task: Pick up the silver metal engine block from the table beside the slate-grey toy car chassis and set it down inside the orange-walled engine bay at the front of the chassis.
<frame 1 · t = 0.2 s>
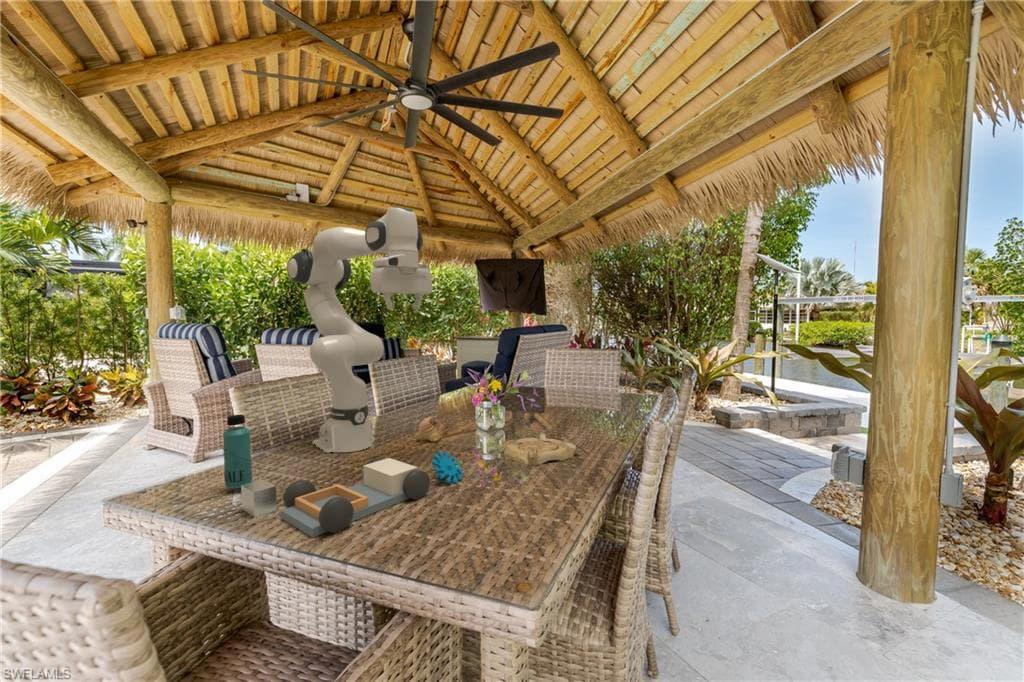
hand: (403, 309, 139), 48 cm above the table, tool pointing down, fingers open, 8 cm apart
beverage bottle: (239, 490, 124), on the table
chassis: (360, 503, 115), on the table
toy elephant: (428, 441, 169), on the table
gear: (448, 480, 131), on the table
ashtray: (538, 454, 154), on the table
engine block: (259, 510, 111), on the table
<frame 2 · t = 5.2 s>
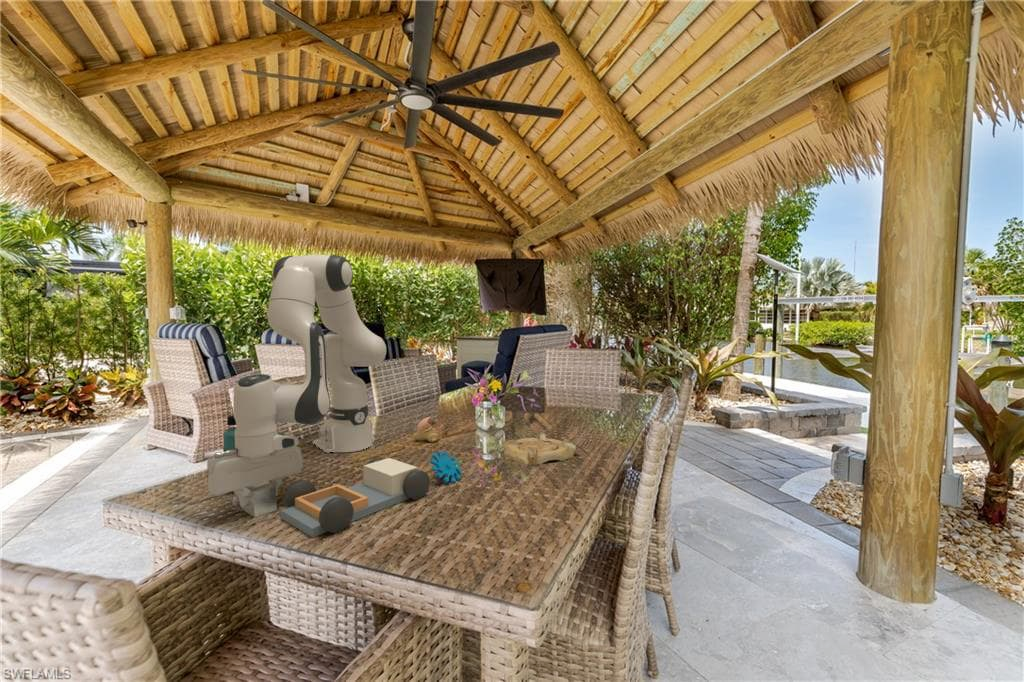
hand: (259, 500, 111), 2 cm above the table, tool pointing down, fingers closed on engine block, 5 cm apart
engine block: (259, 509, 111), on the table, touching gripper
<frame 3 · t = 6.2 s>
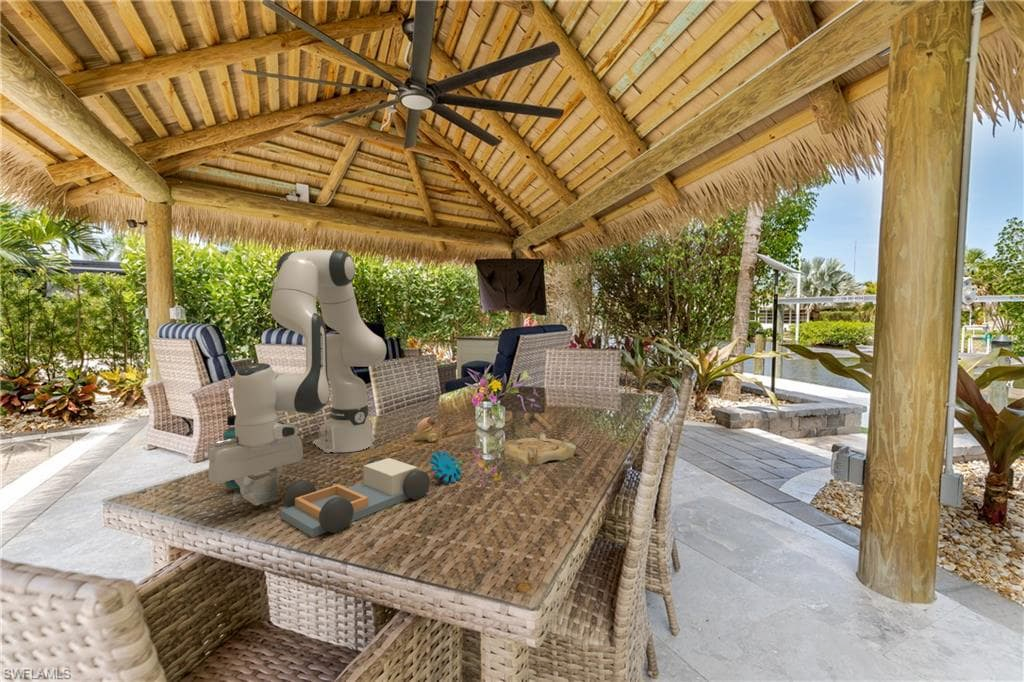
hand: (259, 489, 112), 5 cm above the table, tool pointing down, fingers closed on engine block, 5 cm apart
engine block: (260, 498, 112), point 3 cm above the table, touching gripper
everything else where it was.
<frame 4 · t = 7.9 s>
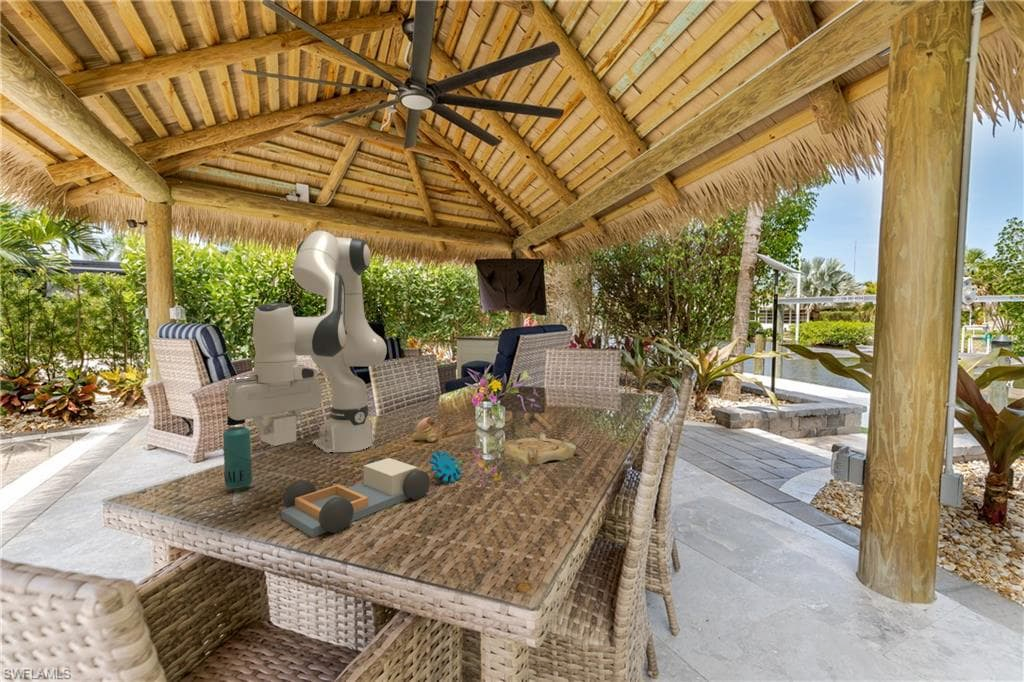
hand: (278, 431, 109), 19 cm above the table, tool pointing down, fingers closed on engine block, 5 cm apart
engine block: (278, 440, 109), point 17 cm above the table, touching gripper
everything else where it was.
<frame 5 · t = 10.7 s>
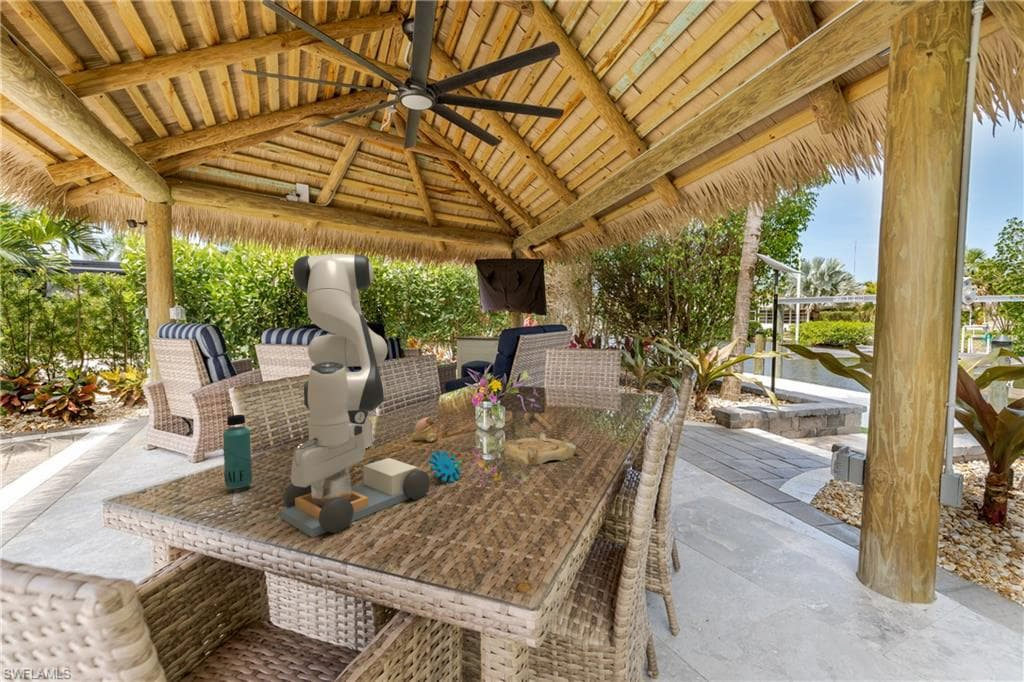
hand: (331, 491, 108), 5 cm above the table, tool pointing down, fingers closed on engine block, 5 cm apart
engine block: (331, 500, 109), point 3 cm above the table, touching gripper
when the fingers open (5 cm above the table, at t = 11.5 s): engine block drops 1 cm, resting on chassis.
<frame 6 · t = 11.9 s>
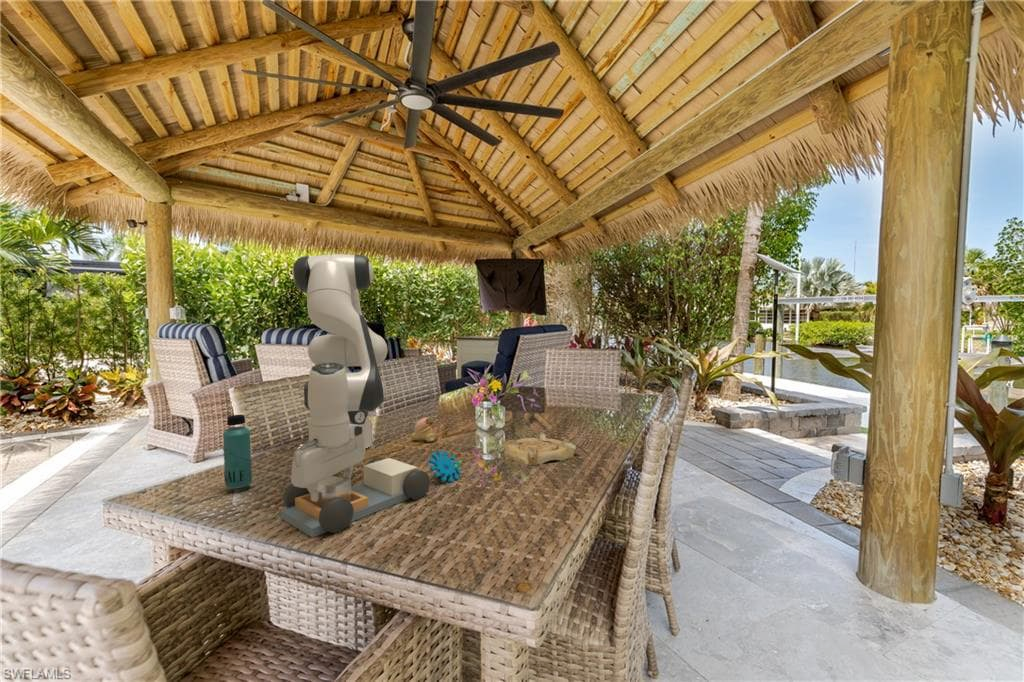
hand: (331, 492, 108), 5 cm above the table, tool pointing down, fingers open, 8 cm apart
engine block: (331, 506, 109), point 2 cm above the table, touching chassis
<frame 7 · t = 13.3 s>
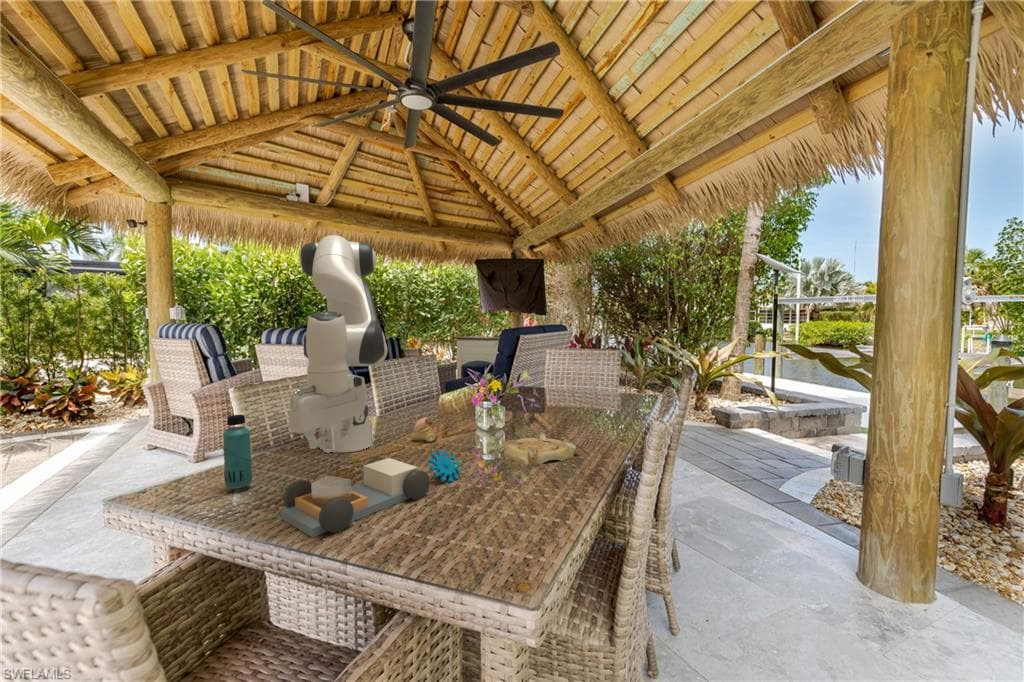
hand: (330, 442, 108), 17 cm above the table, tool pointing down, fingers open, 8 cm apart
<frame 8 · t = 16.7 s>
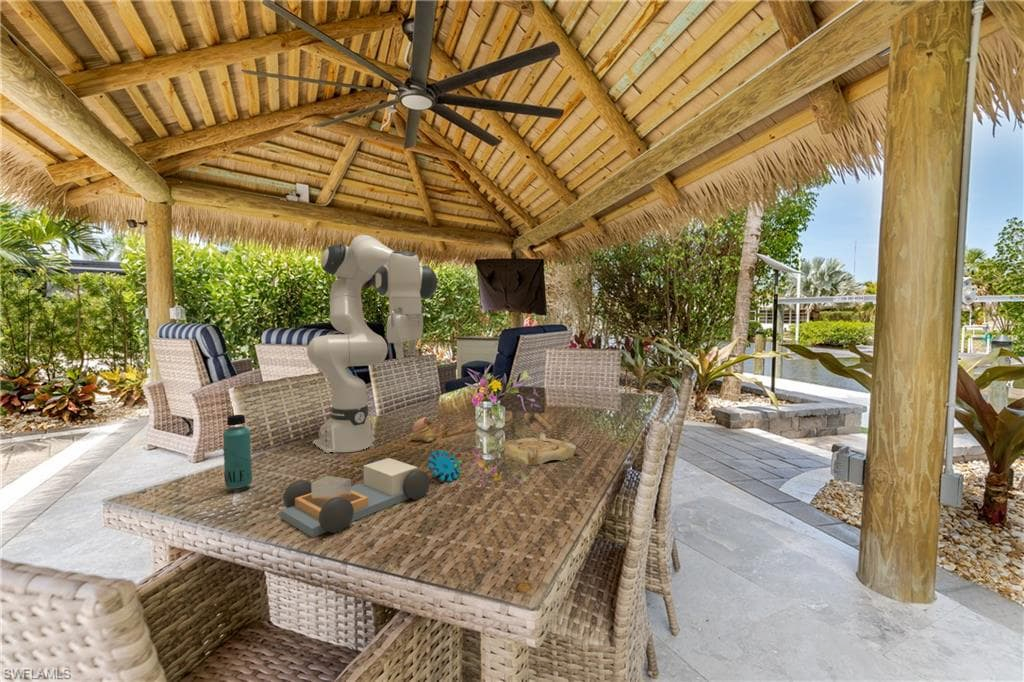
hand: (406, 356, 133), 34 cm above the table, tool pointing down, fingers open, 8 cm apart
at the end: engine block 0.0 cm from the target spot on the chassis, point 2.0 cm above the chassis's base; engine block tilted 0°; the gripper is holding nothing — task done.
